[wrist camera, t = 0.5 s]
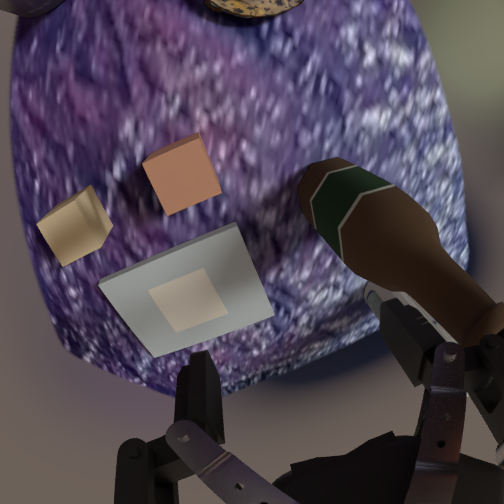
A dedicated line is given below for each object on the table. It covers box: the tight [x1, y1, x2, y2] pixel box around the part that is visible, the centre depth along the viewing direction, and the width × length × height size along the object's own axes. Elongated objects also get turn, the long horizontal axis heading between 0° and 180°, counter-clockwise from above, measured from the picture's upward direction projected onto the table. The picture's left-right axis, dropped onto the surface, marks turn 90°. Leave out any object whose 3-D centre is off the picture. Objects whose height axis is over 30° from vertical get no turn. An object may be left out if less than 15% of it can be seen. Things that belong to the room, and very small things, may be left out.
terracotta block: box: [142, 132, 222, 216], centre depth 26 cm, size 5×5×5 cm
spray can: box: [364, 281, 469, 397], centre depth 31 cm, size 6×6×20 cm
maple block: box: [37, 185, 113, 267], centre depth 26 cm, size 5×5×5 cm
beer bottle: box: [297, 157, 504, 348], centre depth 21 cm, size 8×8×24 cm
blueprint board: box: [98, 221, 274, 358], centre depth 34 cm, size 13×17×1 cm
